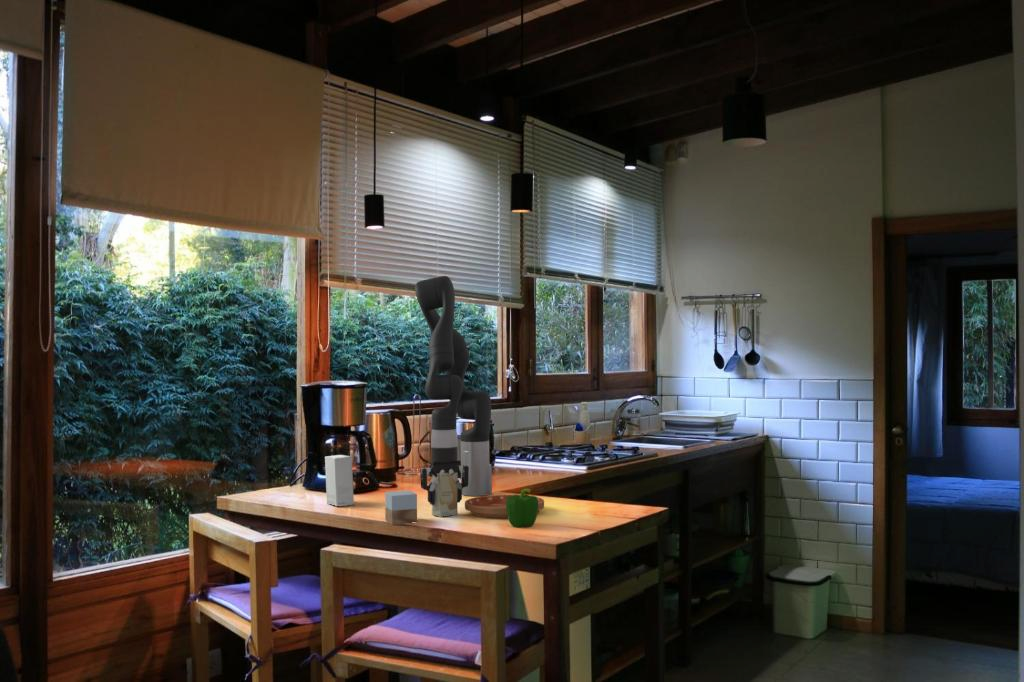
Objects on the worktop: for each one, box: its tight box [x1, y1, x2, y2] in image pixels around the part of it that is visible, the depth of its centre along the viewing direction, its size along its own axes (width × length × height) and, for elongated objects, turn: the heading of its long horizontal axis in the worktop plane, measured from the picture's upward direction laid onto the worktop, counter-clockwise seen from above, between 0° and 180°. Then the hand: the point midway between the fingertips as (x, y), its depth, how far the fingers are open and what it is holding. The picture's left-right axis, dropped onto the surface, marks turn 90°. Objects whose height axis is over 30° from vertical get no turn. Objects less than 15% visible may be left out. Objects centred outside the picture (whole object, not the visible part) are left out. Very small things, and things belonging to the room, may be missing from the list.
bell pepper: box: [506, 488, 539, 528], centre depth 244 cm, size 8×8×10 cm
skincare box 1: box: [324, 454, 355, 507], centre depth 278 cm, size 8×6×15 cm
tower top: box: [384, 489, 418, 511], centre depth 251 cm, size 7×7×4 cm
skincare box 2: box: [431, 472, 459, 518], centre depth 260 cm, size 6×4×12 cm
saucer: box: [464, 494, 545, 519], centre depth 263 cm, size 23×23×4 cm
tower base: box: [384, 507, 418, 526], centre depth 251 cm, size 7×7×4 cm
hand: (444, 503), depth 260 cm, fingers closed on skincare box 2, 7 cm apart
